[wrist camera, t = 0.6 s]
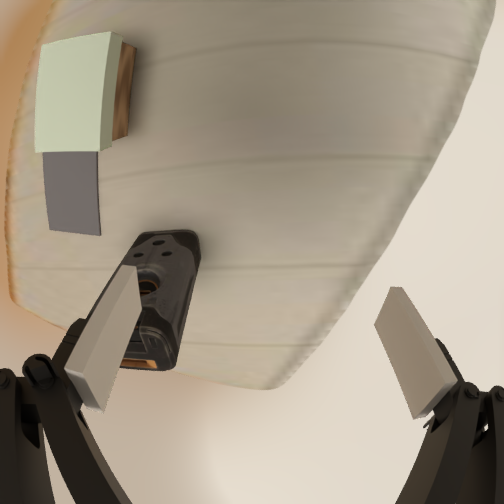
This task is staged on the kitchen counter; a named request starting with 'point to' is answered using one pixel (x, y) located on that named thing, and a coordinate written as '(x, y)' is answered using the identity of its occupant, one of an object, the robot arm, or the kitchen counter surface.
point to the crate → (123, 91)
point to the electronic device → (160, 296)
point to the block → (77, 93)
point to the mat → (72, 191)
